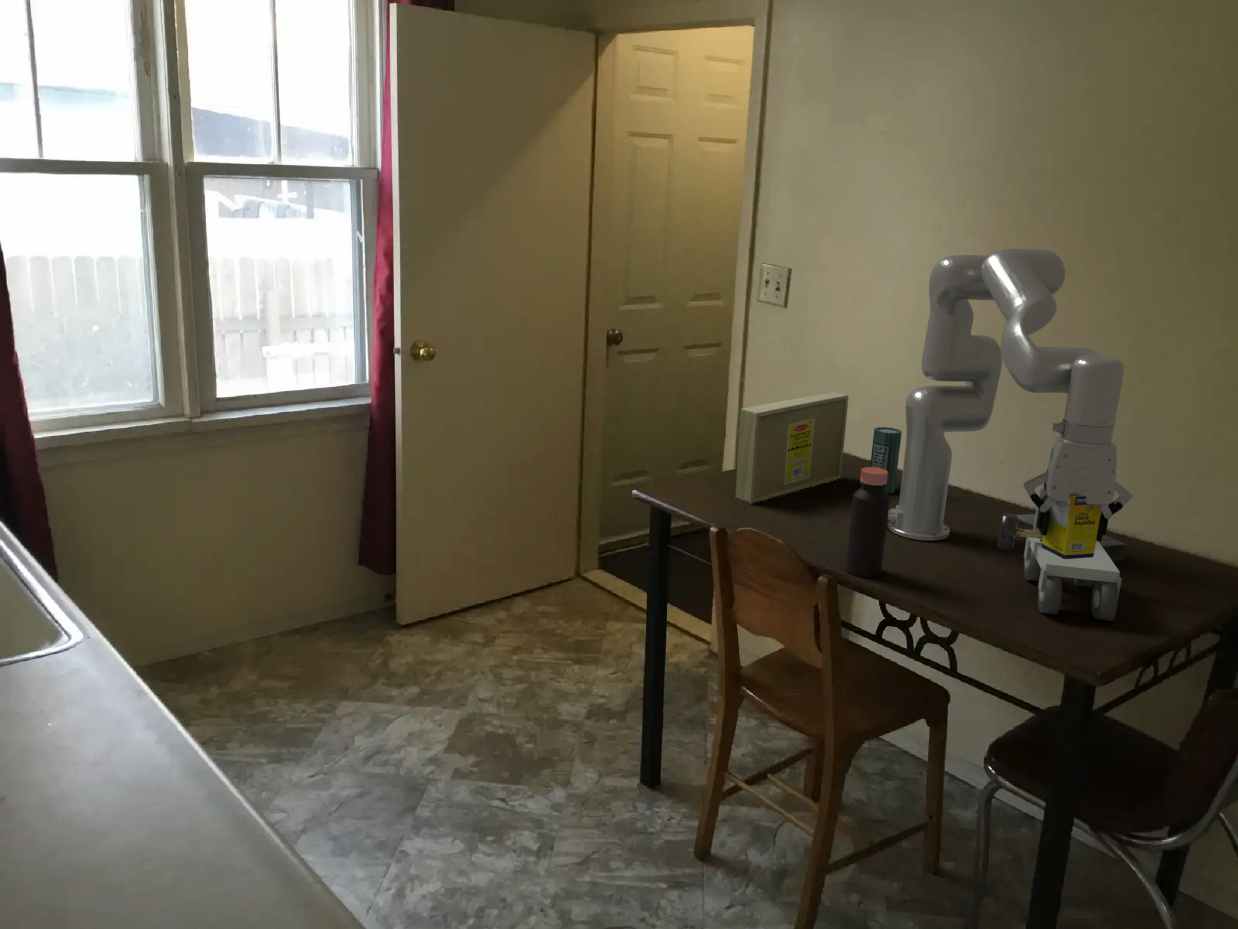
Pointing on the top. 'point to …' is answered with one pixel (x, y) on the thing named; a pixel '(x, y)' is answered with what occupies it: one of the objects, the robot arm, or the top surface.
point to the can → (886, 453)
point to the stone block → (1109, 544)
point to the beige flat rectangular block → (790, 445)
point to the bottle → (868, 524)
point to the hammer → (1013, 531)
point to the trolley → (1072, 576)
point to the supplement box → (1072, 528)
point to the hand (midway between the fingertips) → (1069, 535)
